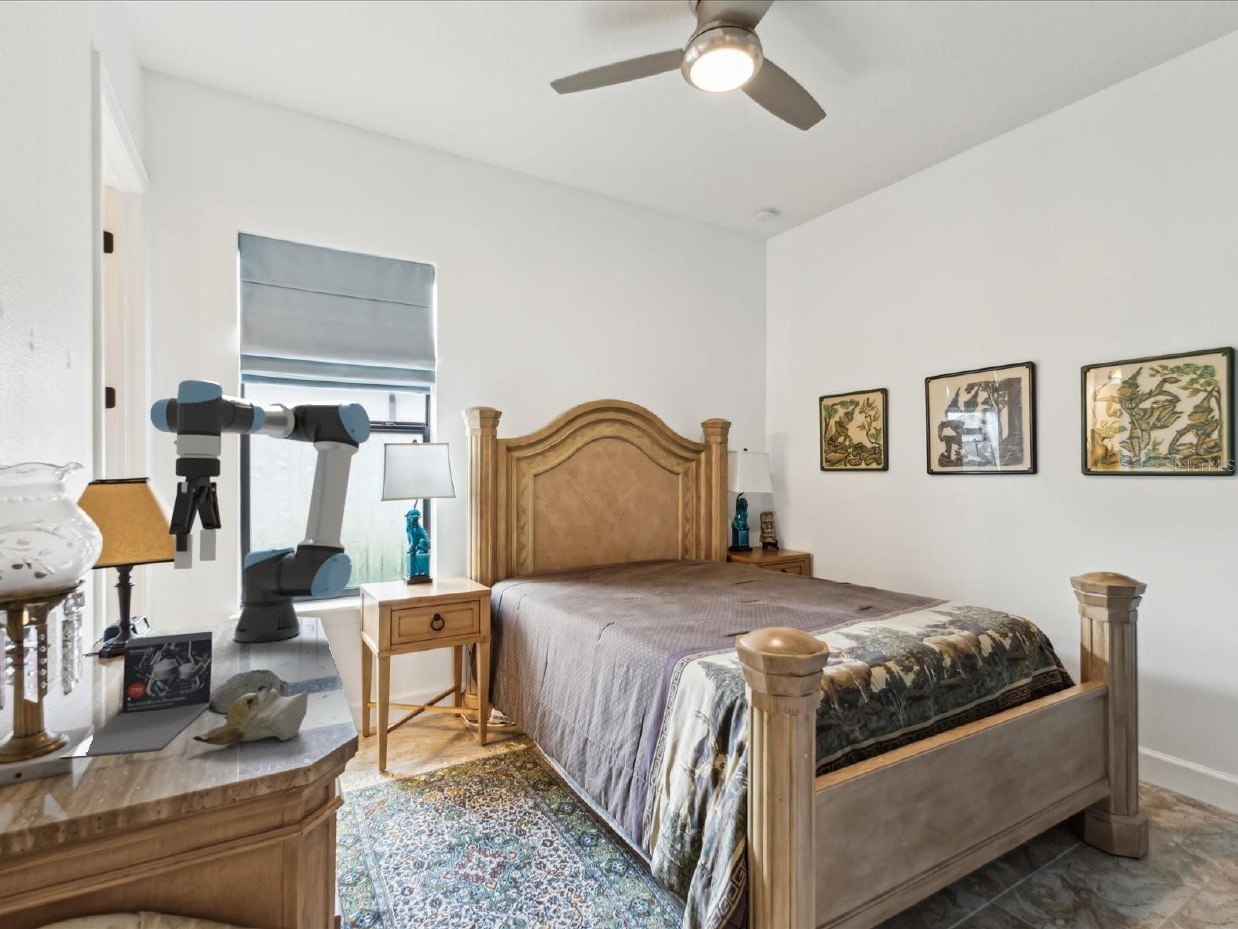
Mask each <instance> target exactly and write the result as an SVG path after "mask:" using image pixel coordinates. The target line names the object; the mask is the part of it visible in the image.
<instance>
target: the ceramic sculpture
mask: <svg viewBox="0 0 1238 929" xmlns="http://www.w3.org/2000/svg"><path fill="white" fill-rule="evenodd" d="M308 696H309V692H307V691H303V692H302V693H296V694H294V695H291V696H284V695H282V696H280V695H279V693H278V691H277V690H276V689H274V688H272V687H268V686H259V687H258V690H257V692H256V693H248V694H246V695H244V696H242V697H240V698H239V699H237V700H236V701H235V702H234V703H233V704H232V706H231V707H230V708H229V711H228V714H225V715H224V719H225V720H226V722H225V723H224V724H223V725H220V726H217V727H214V728H213V729H210V730H209V731H207V732H206V733H205V734H200V735H196V736H193V737H192V739H193V740H194V741H197V742H200V743H204V744H207V745H215V746H224V745H225V746H226V745H229V744H231V743H235V742H237V741H238V742H239V741H240V742H255V741H256V742H257V741H260V740H263V739H265V738H268V737H277V738H279V740H281V741H283V742H284V741H288V740H291V739H293V738H294V737H296V736H297V735H298V733H299V731H300V728H301V727H302V722H303V721H304V719H305V717H306V715H307V711H308V710H307V707H308Z"/></svg>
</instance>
